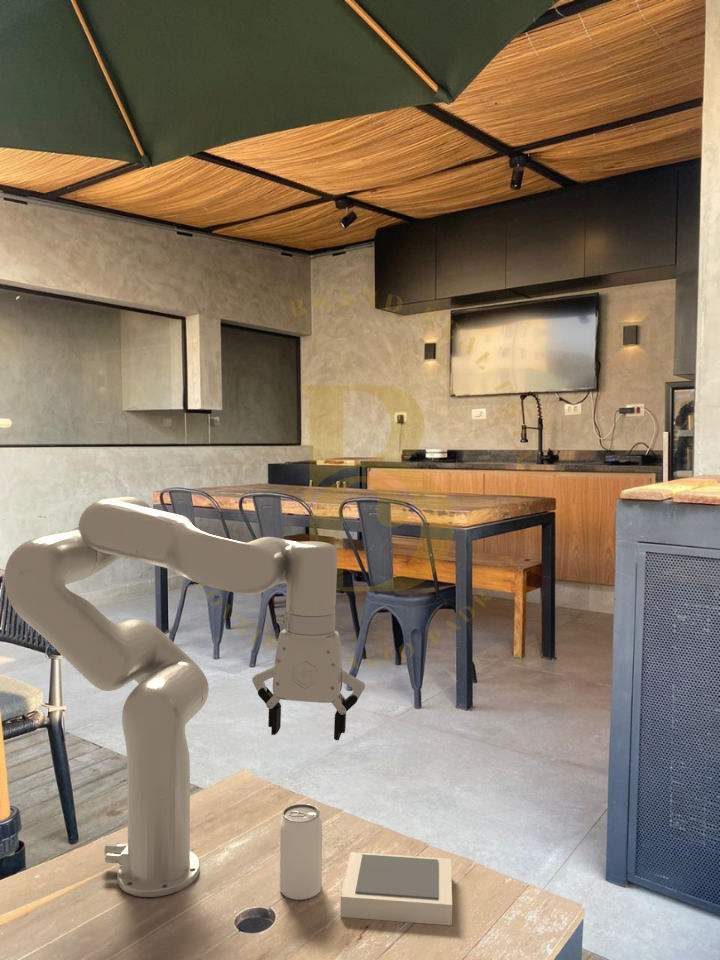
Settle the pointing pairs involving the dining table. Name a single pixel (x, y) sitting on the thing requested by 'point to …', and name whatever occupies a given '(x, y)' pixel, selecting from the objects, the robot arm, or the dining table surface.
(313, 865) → the can
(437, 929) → the dining table surface
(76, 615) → the robot arm
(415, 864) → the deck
